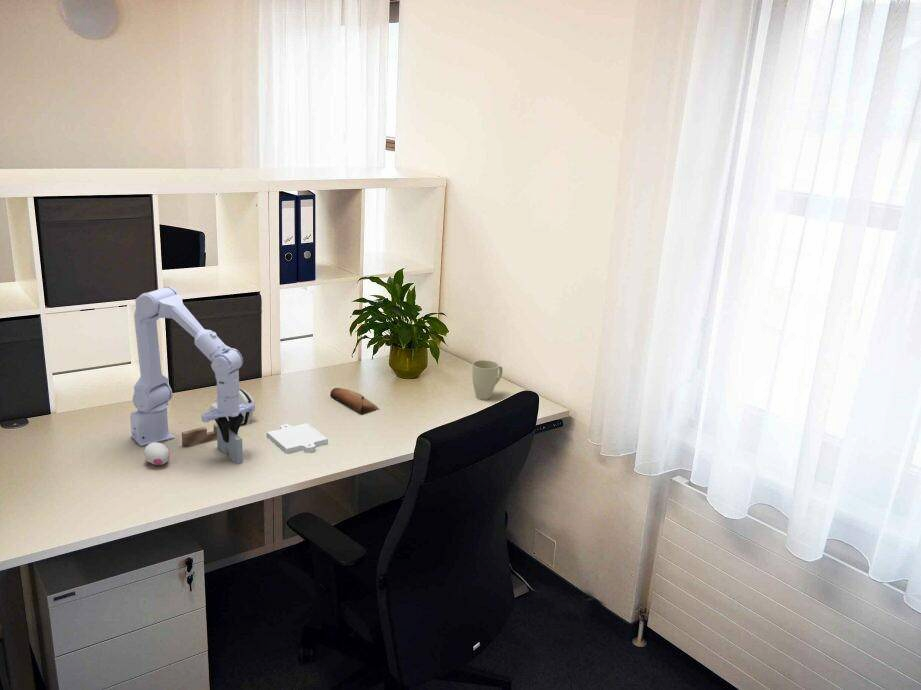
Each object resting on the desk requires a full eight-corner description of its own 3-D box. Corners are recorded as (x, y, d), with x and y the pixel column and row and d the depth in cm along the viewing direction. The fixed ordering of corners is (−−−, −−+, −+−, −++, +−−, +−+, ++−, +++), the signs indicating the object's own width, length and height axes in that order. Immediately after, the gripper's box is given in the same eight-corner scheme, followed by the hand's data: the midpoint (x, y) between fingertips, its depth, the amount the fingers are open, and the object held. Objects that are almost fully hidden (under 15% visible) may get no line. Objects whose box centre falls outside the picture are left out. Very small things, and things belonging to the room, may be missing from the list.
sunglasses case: (382, 409, 252) (374, 394, 248) (366, 423, 249) (358, 409, 245) (350, 392, 264) (342, 378, 261) (335, 405, 262) (327, 391, 258)
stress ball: (170, 477, 207) (183, 455, 208) (144, 468, 201) (158, 446, 202) (159, 465, 212) (172, 444, 213) (133, 457, 206) (147, 435, 207)
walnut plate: (184, 447, 217) (183, 434, 216) (182, 445, 218) (181, 432, 217) (237, 433, 228) (237, 421, 226) (235, 432, 229) (235, 419, 227)
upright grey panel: (237, 463, 210) (236, 440, 208) (217, 447, 218) (216, 424, 216) (242, 462, 211) (242, 438, 209) (222, 446, 219) (221, 423, 217)
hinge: (208, 409, 243) (217, 379, 242) (222, 411, 246) (231, 381, 246) (235, 427, 231) (245, 396, 231) (249, 429, 235) (258, 397, 234)
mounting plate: (332, 448, 224) (332, 442, 223) (290, 458, 216) (290, 452, 215) (303, 426, 237) (303, 420, 236) (263, 434, 229) (263, 429, 229)
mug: (497, 403, 263) (500, 370, 260) (468, 400, 265) (470, 367, 261) (500, 392, 274) (503, 360, 270) (473, 389, 275) (475, 357, 271)
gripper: (209, 404, 202) (210, 452, 206) (259, 393, 211) (260, 439, 215) (197, 396, 206) (199, 442, 211) (247, 385, 216) (248, 430, 220)
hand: (229, 440), depth 213 cm, fingers closed on upright grey panel, 1 cm apart
